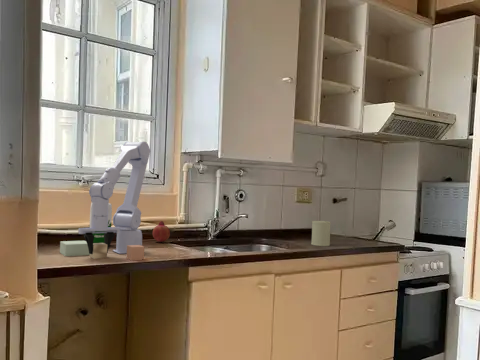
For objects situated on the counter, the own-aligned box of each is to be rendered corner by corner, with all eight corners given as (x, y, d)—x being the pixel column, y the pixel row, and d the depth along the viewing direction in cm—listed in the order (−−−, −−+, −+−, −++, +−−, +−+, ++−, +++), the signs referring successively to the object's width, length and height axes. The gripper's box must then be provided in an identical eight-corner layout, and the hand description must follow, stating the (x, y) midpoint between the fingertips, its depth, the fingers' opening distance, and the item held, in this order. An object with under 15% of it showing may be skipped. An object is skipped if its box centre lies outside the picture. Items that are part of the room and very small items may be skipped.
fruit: (148, 242, 211) (149, 220, 211) (157, 240, 219) (157, 219, 219) (164, 244, 209) (165, 222, 209) (172, 242, 217) (173, 220, 217)
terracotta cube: (139, 257, 170) (139, 244, 170) (144, 259, 166) (144, 246, 166) (126, 258, 167) (127, 245, 167) (131, 260, 163) (131, 247, 163)
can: (326, 246, 223) (327, 221, 223) (308, 244, 227) (309, 220, 227) (332, 244, 231) (333, 220, 231) (315, 243, 235) (315, 219, 235)
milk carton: (108, 243, 202) (110, 198, 202) (111, 246, 194) (113, 199, 194) (87, 244, 199) (89, 197, 199) (90, 247, 190) (92, 198, 191)
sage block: (84, 252, 179) (84, 240, 179) (90, 255, 172) (90, 243, 172) (59, 253, 174) (60, 241, 174) (65, 256, 167) (65, 244, 167)
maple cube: (102, 255, 171) (103, 242, 171) (106, 257, 167) (107, 244, 167) (89, 256, 168) (90, 243, 168) (93, 258, 164) (94, 245, 164)
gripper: (115, 214, 175) (114, 250, 175) (76, 215, 166) (74, 252, 166) (122, 216, 169) (120, 253, 169) (82, 216, 161) (80, 255, 161)
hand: (98, 253), depth 167 cm, fingers closed on maple cube, 5 cm apart
